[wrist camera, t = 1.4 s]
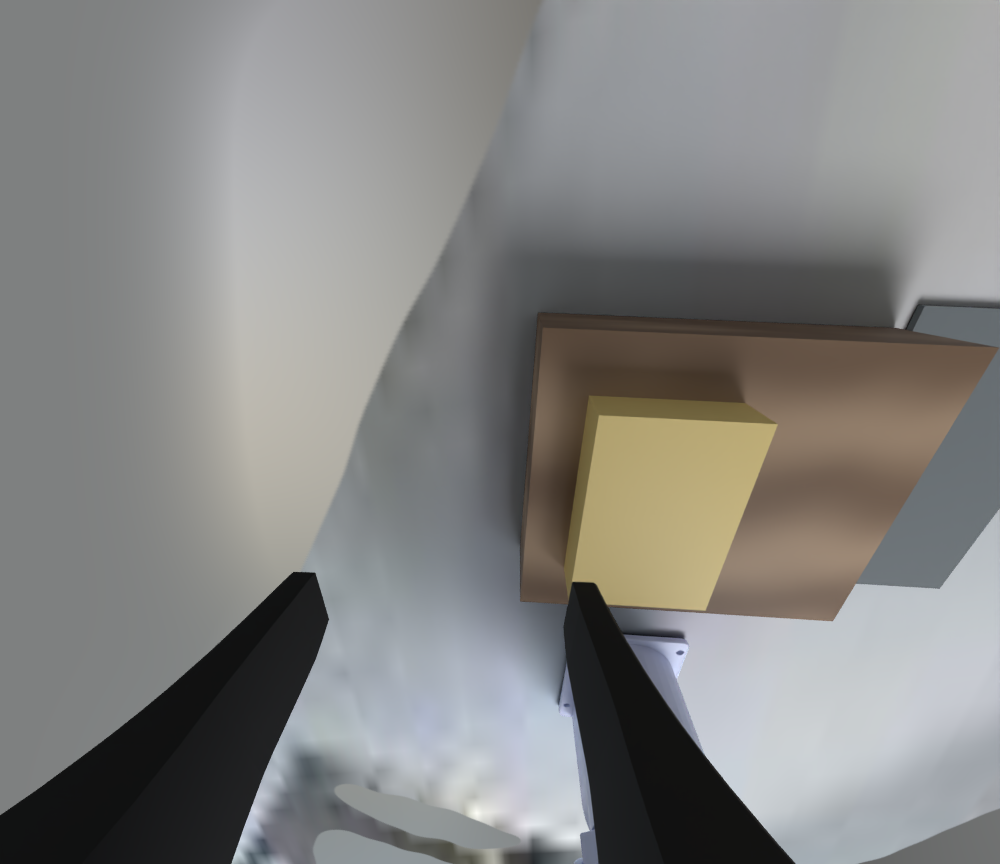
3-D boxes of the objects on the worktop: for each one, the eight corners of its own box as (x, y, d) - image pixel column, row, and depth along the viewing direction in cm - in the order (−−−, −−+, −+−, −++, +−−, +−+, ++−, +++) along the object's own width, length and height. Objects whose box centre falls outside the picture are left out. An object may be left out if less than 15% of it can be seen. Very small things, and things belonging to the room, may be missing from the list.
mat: (934, 584, 23) (939, 588, 23) (785, 575, 23) (788, 579, 23) (1133, 314, 16) (1144, 314, 16) (918, 305, 16) (924, 305, 16)
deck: (782, 563, 23) (832, 621, 19) (520, 547, 23) (520, 601, 19) (895, 327, 17) (999, 347, 13) (537, 312, 17) (543, 327, 13)
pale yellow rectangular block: (686, 575, 18) (705, 610, 16) (563, 568, 18) (568, 602, 17) (745, 402, 14) (778, 424, 13) (589, 395, 15) (598, 415, 13)
